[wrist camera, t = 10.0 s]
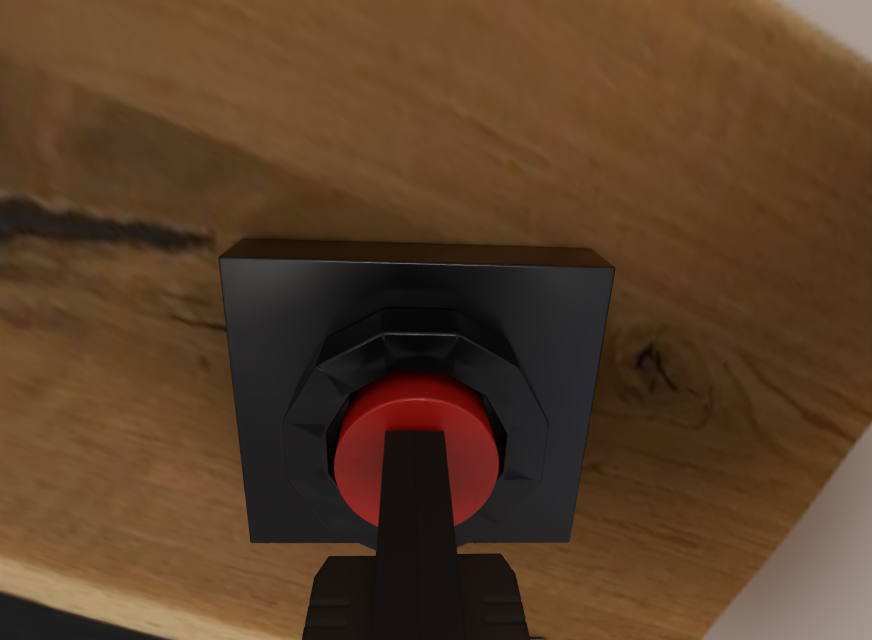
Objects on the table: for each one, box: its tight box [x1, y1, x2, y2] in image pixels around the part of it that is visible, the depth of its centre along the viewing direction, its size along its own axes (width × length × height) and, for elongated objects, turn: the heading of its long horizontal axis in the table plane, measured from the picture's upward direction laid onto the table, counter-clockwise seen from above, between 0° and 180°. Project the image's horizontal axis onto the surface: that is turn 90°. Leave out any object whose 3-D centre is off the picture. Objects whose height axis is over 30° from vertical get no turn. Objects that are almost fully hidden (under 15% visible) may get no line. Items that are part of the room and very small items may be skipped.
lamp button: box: [334, 373, 499, 527], centre depth 15 cm, size 4×4×2 cm
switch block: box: [219, 239, 615, 550], centre depth 17 cm, size 11×10×4 cm
